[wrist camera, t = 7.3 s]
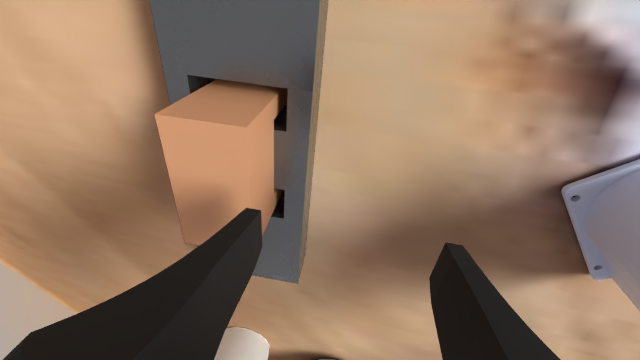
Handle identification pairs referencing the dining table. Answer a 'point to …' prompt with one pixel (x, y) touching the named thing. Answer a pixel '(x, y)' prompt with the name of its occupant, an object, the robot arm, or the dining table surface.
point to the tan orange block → (221, 154)
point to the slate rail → (263, 69)
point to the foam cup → (242, 345)
